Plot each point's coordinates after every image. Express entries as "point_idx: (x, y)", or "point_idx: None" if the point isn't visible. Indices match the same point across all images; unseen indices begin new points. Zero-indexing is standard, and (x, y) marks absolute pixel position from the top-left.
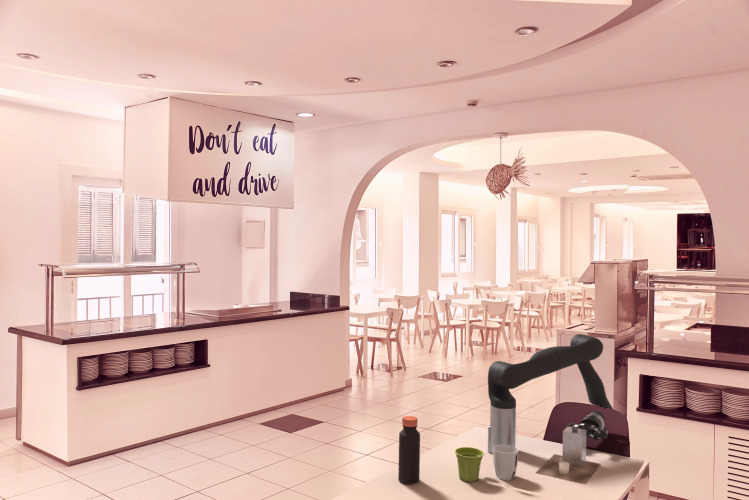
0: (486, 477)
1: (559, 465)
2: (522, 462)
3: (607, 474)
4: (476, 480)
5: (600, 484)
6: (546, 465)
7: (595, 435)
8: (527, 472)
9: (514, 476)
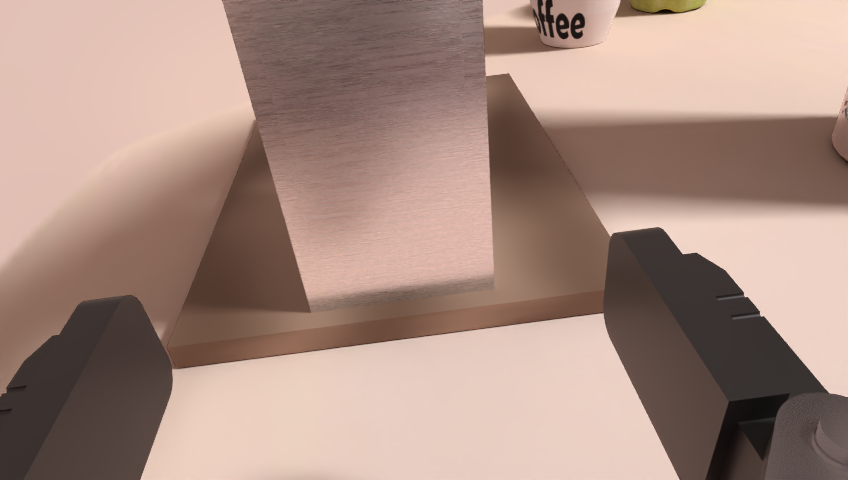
0: (636, 23)
1: None
2: (690, 134)
3: (138, 272)
4: (631, 4)
5: (197, 164)
6: (524, 131)
7: (90, 313)
8: (562, 91)
9: (535, 20)
